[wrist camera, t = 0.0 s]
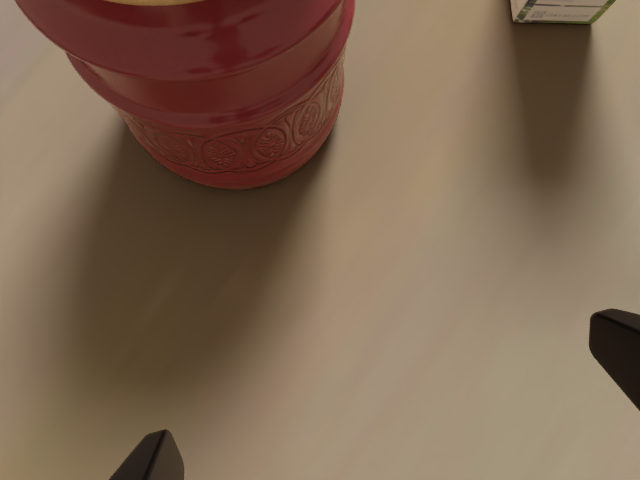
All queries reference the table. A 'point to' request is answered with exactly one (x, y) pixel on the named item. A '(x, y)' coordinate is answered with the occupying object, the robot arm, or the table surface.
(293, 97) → the canister
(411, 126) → the table surface
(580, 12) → the syrup box
